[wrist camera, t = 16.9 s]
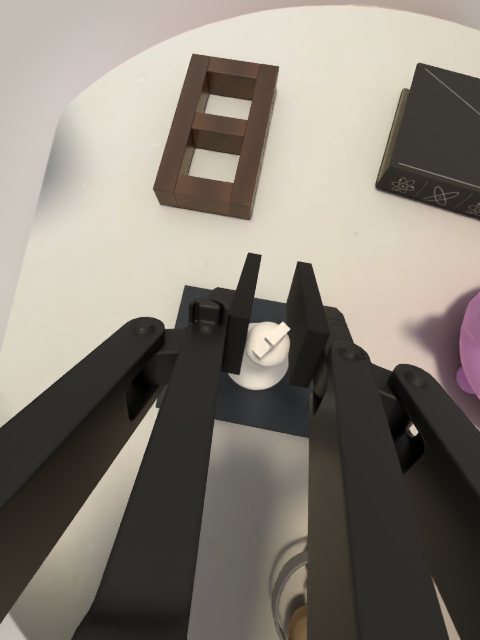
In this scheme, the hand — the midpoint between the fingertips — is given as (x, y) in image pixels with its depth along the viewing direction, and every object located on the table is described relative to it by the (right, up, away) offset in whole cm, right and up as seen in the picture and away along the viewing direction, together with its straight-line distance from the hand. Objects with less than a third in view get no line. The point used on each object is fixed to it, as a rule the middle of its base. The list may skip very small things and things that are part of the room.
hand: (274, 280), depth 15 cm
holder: (-4, +18, +16) cm, 25 cm away
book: (+26, +16, +16) cm, 34 cm away
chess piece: (-1, -5, +5) cm, 7 cm away
